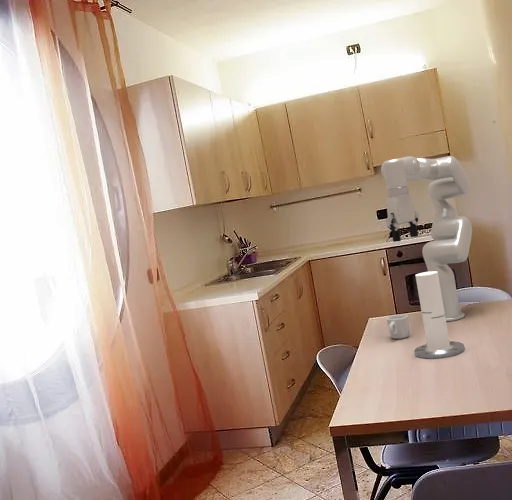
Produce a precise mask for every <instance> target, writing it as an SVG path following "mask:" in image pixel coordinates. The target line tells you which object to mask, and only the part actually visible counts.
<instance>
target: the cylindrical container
mask: <svg viewBox="0 0 512 500" xmlns="http://www.w3.org/2000/svg"><path fill="white" fill-rule="evenodd" d="M415 282H416V286H417V287H416V288H417V293H418V299H419V304H420V310H421V316H422V322H423V328H424V335H425V340H426V344H427V347H428V350H431V351H440V350H445V349H448V348H450V342H449V341H450V337H449V331H448V325H447V321H446V318H445V312H444V307H443V301H442V295H441V289H440V283H439V277H438V272H437V271H430V272H428V271H424V272H419V273H417V274H415Z"/></svg>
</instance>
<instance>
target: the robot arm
mask: <svg viewBox="0 0 512 500" xmlns="http://www.w3.org/2000/svg"><path fill="white" fill-rule="evenodd" d="M380 173H381V175H382V177H383V179H384V180H385V186H386V192H387V199H386V209H387V210H386V213H387V218H386V219H385V221H384V222H385V224H386V225H387V228H388V229H389V231H390V232H391V236H392V241H393V243H396V242H401V240H402V238H401V233H400V230H399V226H400V225H404V224H408V225H409V226H408V228H409V230H408V231H409V235H410V237H411V238H415V237H419V232H418V225H419V224H418V221H419V215H420V214H419V212H417V211H416V210H415V208H414V205H413V201H412V198H411V195H410V192H409V190H410V189H409V186H408V181H432V182H430V183H429V185H428V195H429V198H430V201H431V203H432V205H433V208H434V216H433V220H432V225H431V229H430V230H431V231H430V237H431V238H432V240H431V241H429V242H426V243H425V244H424V245H423V247H422V257H423V261H424V262H425V265H426V268H427V272H430V271H437V272H438V277H439V283H440V289H441V295H442V301H443V307H444V312H445V318H446V322H452V321H457V320H461V319H464V317H465V313H464V312H462V310H464V309H465V308H466V307H467V306H466V304H465V303H463V302H462V303H461V304H460V303H459V299H458V298H459V297H458V291H457V287H456V286H457V285H456V279H455V274H454V271H453V270H452V268H451V267H450V266H449V265H448V264H457V263H458V264H459V263H464V262H465V261H467V259H468V256H469V252H470V248H471V243H472V242H471V241H472V236H473V235H472V234H473V226H472V223H471V220H470V219H469V218H468V217H466V216H463V215H462V216H461V215H459V216H457V210H456V208H455V206H453V204H452V203H450V202H449V201H448V199H455V198H461V197H465V196H467V195H469V193H470V192H471V188H472V185H471V182H470V178H469V177H468V175H467V173H466V171H465V170H464V167H463V166H462V164H461V163H460V161H459V160H458V159H457V158H456V157H455V156H453V155H447V156H443V157H438V158H426V157H415V156H411V155H410V156H409V155H407V156H403V157H400V158H393V159H389V160H385V161H384V162H383V163H382V165H381V167H380Z"/></svg>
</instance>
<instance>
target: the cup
mask: <svg viewBox="0 0 512 500" xmlns="http://www.w3.org/2000/svg"><path fill="white" fill-rule="evenodd" d="M386 323H387V326H388V329H389V334H390V336H391V338H392V339H395V340H401V339H406V338H408V337H409V335H410V328H409V326H410V324H409V316H408V314H405V313H403V314H402V313H401V314H393V315H390V316H387V317H386Z"/></svg>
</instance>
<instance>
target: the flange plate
mask: <svg viewBox="0 0 512 500" xmlns="http://www.w3.org/2000/svg"><path fill="white" fill-rule="evenodd" d="M449 342H450V348H448V349H445V350H440V351H431V350H428V347H427V343H424V344H422V345H419V346H418V347H416V348H415V349H414V351H413V352H414V356H415V357H416V358H419V359H425V360H434V359H435V360H436V359H437V360H439V359H446V358H450V357H455V356H458V355H460V354H462V353H464V352H465V351H466V350H465V349H466V348H465V344H464V343H463V342H459V341H450V340H449Z"/></svg>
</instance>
